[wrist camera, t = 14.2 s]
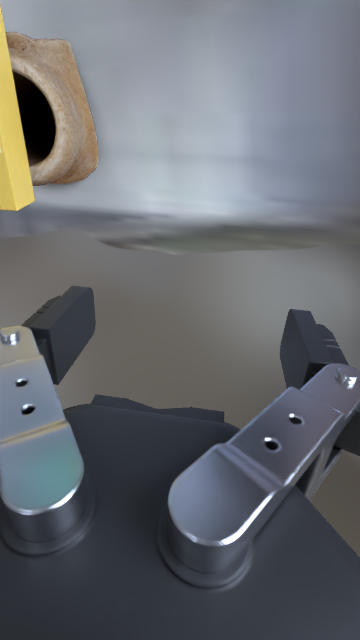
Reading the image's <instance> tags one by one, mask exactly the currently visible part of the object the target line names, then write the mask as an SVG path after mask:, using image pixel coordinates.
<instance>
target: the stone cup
mask: <svg viewBox="0 0 360 640" xmlns="http://www.w3.org/2000/svg"><path fill="white" fill-rule="evenodd" d="M5 34H6V40H7V45H8V51H9V56H10V62H11V68H12V73H13V79H14V85H15V90H16V96H17V102H18V107H19V113H20V119H21V124H22V130H23V135H24V141H25V147H26V152H27V158H28V164H29V169H30V175H31V181H32V186H39V185H45V184H48V183H52V184H67V183H73V182H77V181H80V180H83V179H85V178H87V177H88V176H89V174H90V173H92V172H93V171H94V170H95V169H96V168H97V165H98V143H97V136H96V130H95V126H94V122H93V118H92V115H91V111H90V108H89V104H88V101H87V97H86V94H85V90H84V87H83V84H82V81H81V77H80V74H79V71H78V67H77V64H76V60H75V57H74V54H73V51H72V48H71V46H70V43H69V42H68V41H66V40H61V39H32V38H30V37H28V36H26V35H23V34H19V33H17V32H5Z"/></svg>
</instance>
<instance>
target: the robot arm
mask: <svg viewBox="0 0 360 640" xmlns="http://www.w3.org/2000/svg"><path fill="white" fill-rule="evenodd" d="M95 323H96V322H95V309H94V297H93V291H92V289H91V288H90V287H80V286H72V287H71V288H69V290H67V291H66V292H65V293H64V294H63V295H62V296H58V297H55V298H53V299H51V300H49V301H48V302H46V303H45V304H44V305H43V306H42V308H40V309H39V310H37V312H36V313H34V314H33V315H32V316H31V317H30V318H29V319H27V320H26V321H25V322H24V323H23V324H22V325H21V326H8V327H3V328H0V640H360V557H359V556H358V555H357V554H356V553H355V552H354V551H353V549H352V548H351V547H350V546H349V545H348V544H347V543H346V542H345V540H343V538H342V537H341V536H340V535H339V534H338V533H337V531H336V530H335V529H334V528H333V527H332V526H331V525H330V524H329V522H327V520H326V519H325V518H324V517H323V516H322V515H321V514H320V512H319V511H318V510H317V509H316V508H315V507H314V506H313V504H312V503H311V502H310V501H311V499H312V497H313V495H314V494H315V492H316V490H317V488H318V487H319V485H320V484H321V482H322V481H323V479H324V478H325V477H326V475H327V474H328V472H329V471H330V469H331V468H332V467H333V465H334V463H335V462H336V461H337V459H338V458H339V456H340V455H341V454H342V452H343V450H346V451H348V452H351V453H354V454H356V455H358V456H360V371H359V370H358V369H356V368H354V367H351V366H349V365H348V363H347V361H346V359H345V357H344V355H343V353H342V351H341V349H340V348H339V345H338V343H337V342H336V339H335V337H334V336H333V334H332V332H331V331H330V330H328V329H327V328H326V327H325V326H323V325H320V324H316V323H315V320H314V318H313V316H312V314H311V312H310V311H303V310H294V309H290V310H289V312H288V316H287V320H286V325H285V328H284V333H283V337H282V341H281V346H280V360H281V364H282V369H283V373H284V378H285V382H286V387H287V389H286V390H285V391H284V392H283V393H282V394H281V395H280V396H279V397H277V398H276V399H275V400H274V401H273V402H272V403H271V404H270V405H268V406H267V407H266V408H265V409H264V410H263V411H262V412H260V413H259V414H258V415H257V416H256V417H255V418H254V419H253V420H251V421H250V422H249V423H248V424H247V425H246V426H245V427H243V428H242V429H239V428H237V427H235V426H233V425H231V424H229V423H226V422H224V412H222V411H214V410H207V409H200V408H192V407H191V408H174V409H173V408H172V409H155V408H152V407H149V406H146V405H143V404H141V403H137V402H135V401H132V400H129V399H125V398H117V397H110V396H103V395H95V397H94V399H93V401H92V403H91V404H83V405H77V406H73V407H70V408H67V409H64V410H62V407H61V404H60V401H59V398H58V396H57V393H56V390H55V387H54V384H56V385H58V384H59V383H60V381H61V380H62V379H63V377H64V376H65V374H66V373H67V372H68V370H69V368H70V367H71V365H72V364H73V363H74V361H75V360H76V359H77V357H78V356H79V354H80V353H81V351H82V350H83V348H84V347H85V346H86V344H87V343H88V341H89V340H90V338H91V337H92V335H93V333H94V330H95Z"/></svg>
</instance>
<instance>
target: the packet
mask: <svg viewBox="0 0 360 640" xmlns="http://www.w3.org/2000/svg"><path fill="white" fill-rule="evenodd" d="M34 201H35V198H34V192H33V186H32V181H31V175H30V169H29V164H28V158H27V152H26V147H25V141H24V135H23V130H22V124H21V119H20V113H19V107H18V102H17V96H16V90H15V85H14V79H13V73H12V68H11V62H10V56H9V51H8V45H7V40H6V34H5V28H4V23H3V17H2V11H1V6H0V210H11V211H18V210H19V209H21V208H23V207H25V206H27V205H29V204H30V203H32V202H34Z"/></svg>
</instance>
